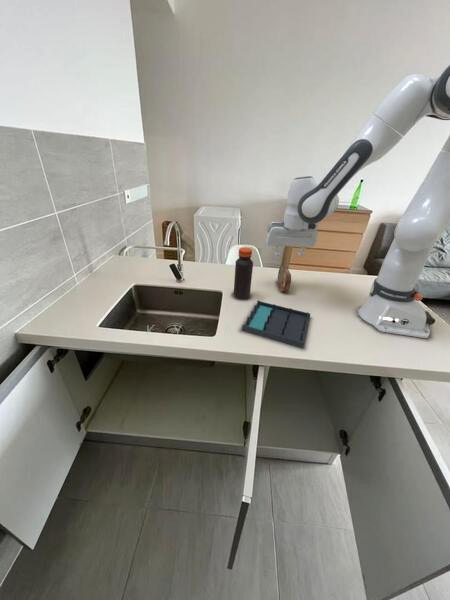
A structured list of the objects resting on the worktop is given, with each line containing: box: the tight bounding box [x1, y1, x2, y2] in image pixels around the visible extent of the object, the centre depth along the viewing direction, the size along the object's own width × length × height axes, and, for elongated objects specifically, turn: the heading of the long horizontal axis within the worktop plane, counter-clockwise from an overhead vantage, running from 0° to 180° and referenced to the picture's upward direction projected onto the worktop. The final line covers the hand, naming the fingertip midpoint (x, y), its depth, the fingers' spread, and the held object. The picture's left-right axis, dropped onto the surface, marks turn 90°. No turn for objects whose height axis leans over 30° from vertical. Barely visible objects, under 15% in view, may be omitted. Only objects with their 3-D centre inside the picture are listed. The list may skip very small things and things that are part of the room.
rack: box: [241, 299, 311, 349], centre depth 84 cm, size 20×18×4 cm
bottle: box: [233, 247, 254, 300], centre depth 96 cm, size 7×7×20 cm
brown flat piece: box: [277, 265, 292, 292], centre depth 107 cm, size 15×3×8 cm, turn 178°
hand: (288, 255), depth 102 cm, fingers open, 8 cm apart
